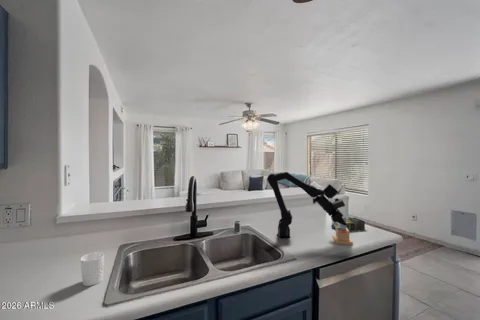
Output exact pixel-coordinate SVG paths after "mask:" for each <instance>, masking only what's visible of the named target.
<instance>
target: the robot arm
mask: <svg viewBox="0 0 480 320" xmlns="http://www.w3.org/2000/svg"><path fill="white" fill-rule="evenodd" d="M266 180H267V182H268V184H269V186H270V187H271V189H272V191H273V193H274V195H275V199H276V202H277V205H278V208H279V211H280V217H281V218H280V219H279V220H278V225H277V233H276V235H277V237H279V238H280V239H288V238H291V228H290V225H291V224H292V222H293V215H292V213H291V210H290V209H288V208H287V206H286V203H285V201H284V198H283V195H282V192H281V189H280V186H279V181H282V180H287V181H288V182H290V183H292V184H294V185H295V186H297V187H298V188H300V189H302V190H303V191H304V192H305V193H306V194H307V195H308V196H310V197H311V198H312V204H313V205H314V204H316V203H317V204H318V206H320V207H321V208H322V209H323V211H324V212H325V213H327V215H328V216H329V217H330V218H331V221H332V220H333V222H334V223H335V222H338V223H340V224H343V225H346V223H345V221H344V220H343V218H342V216H344V214H343V213H342V212H341V211H340V210H339V208H340V209H341V208H344V207H345V206H346V204H345V202H344V200H343V199H342V198H340V199H339V198H338V197H336V198H334V197H335V196H336V195H338V194H339V193H340V192H339V190H337V189H336V188H335V187H334V186H332V184H331V183H329V184H327V186H326V187H325V188H324V189H321V188H317V187H316V186H314V185H312V184H308V183H306V182H304V181H302V180H300V179H299V178H297V177H295V176H294V175H293V174H290V173H289V172H288V171H283V172H279V173H270V174H268V176H267V177H266ZM333 198H334V201H333V202H332V201H330V200H329V199H333Z"/></svg>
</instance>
